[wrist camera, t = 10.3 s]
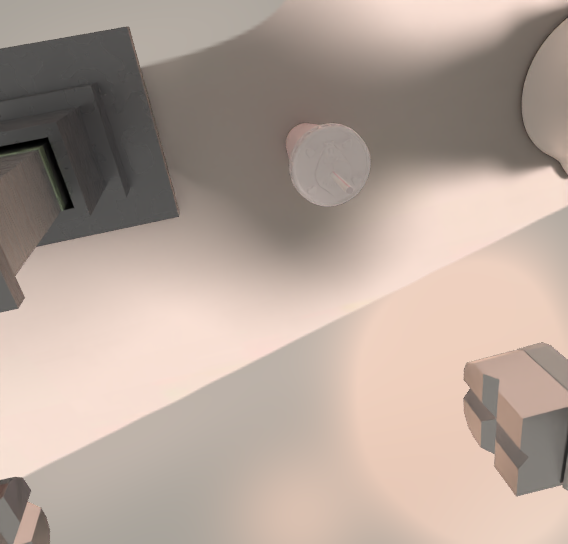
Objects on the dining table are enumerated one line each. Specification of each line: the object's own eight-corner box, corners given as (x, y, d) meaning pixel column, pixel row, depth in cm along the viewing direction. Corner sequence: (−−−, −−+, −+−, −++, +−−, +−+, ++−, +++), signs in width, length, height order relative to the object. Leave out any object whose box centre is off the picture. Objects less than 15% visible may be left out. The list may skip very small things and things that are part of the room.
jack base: (129, 26, 40) (107, 23, 29) (179, 211, 47) (177, 264, 36) (-77, 62, 38) (-180, 73, 27) (8, 247, 45) (-47, 313, 35)
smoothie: (278, 183, 47) (311, 235, 35) (265, 115, 45) (296, 147, 32) (341, 168, 48) (396, 214, 36) (332, 101, 45) (388, 125, 33)
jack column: (65, 122, 35) (-36, 195, 19) (89, 191, 37) (18, 308, 21) (-10, 136, 34) (-178, 223, 19) (20, 205, 37) (-107, 336, 21)
